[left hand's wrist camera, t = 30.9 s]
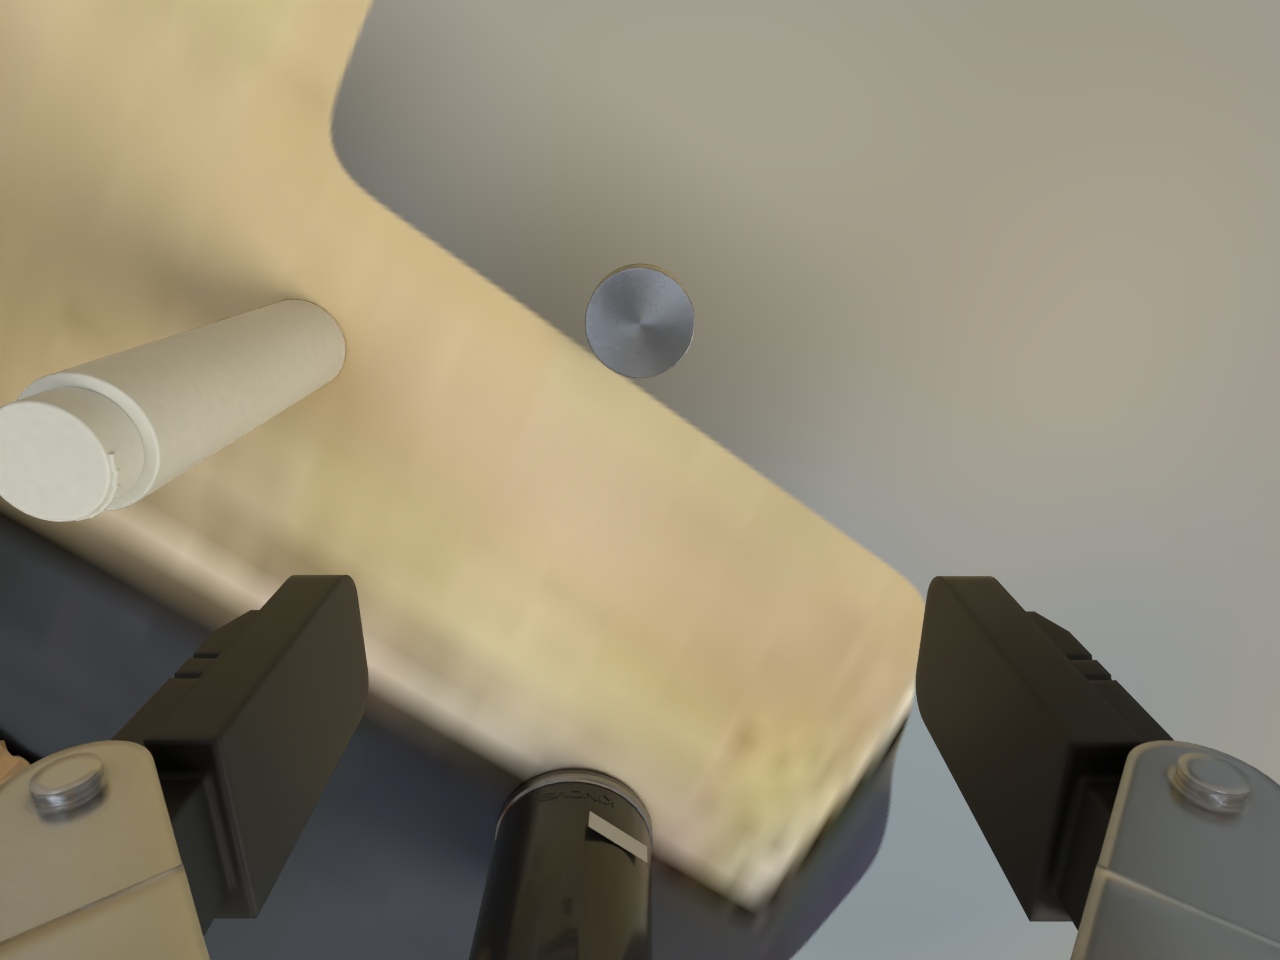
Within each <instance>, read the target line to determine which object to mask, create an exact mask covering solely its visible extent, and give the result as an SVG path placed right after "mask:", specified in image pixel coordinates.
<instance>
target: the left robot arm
mask: <svg viewBox="0 0 1280 960" xmlns="http://www.w3.org/2000/svg"><path fill="white" fill-rule="evenodd" d="M367 695H368V668H367V661H366V653H365V646H364V639H363V632H362V624H361V617H360V610H359V603H358V595H357V590H356V586H355V583H354V581H353V579H352V578H351V577H350V576H348V575H293V576H291V577H289V578H288V579H287V580H286V581H285V583H284V584H283V585H282V586H281V587H280V588H279V589H278V590H277V591H276V593H275V594H274V595H273V596H272V597H271V598H270V599H269V600H268V601H267V603H266V604H265V605H264V606H263V607H262V608H261V609H260V610H250V611H248V612H247V613H245V614H243V615H242V616H240V617H238V618H236V619H235V620H233V621H231V622H230V623H228V624H226V625H224V626H223V627H221V628H219V629H217V630H216V631H215V632H214V633H213V634H212V635H211V636H210V637H209V638H208V639H207V640H206V641H205V642H204V643H203V645H202V646H201V647H200V648H199V649H198V650H197V651H196V652H195V653H194V657H193V658H189V659H188V660H187V661H186V662H185V663H184V664H183V665H182V666H181V667H180V668H179V670H178V671H177V672H176V673H175V678H170V679H169V680H168V681H167V682H166V683H165V684H164V685H163V686H162V687H161V688H160V689H159V690H158V691H157V692H156V694H155V695H154V696H153V697H152V698H151V699H150V700H149V701H148V702H147V703H146V704H145V705H144V706H143V707H142V708H141V709H140V710H139V711H138V712H137V713H136V714H135V715H134V716H133V718H132V719H131V720H130V721H129V722H128V723H127V724H126V725H125V726H124V727H123V728H122V729H121V730H120V731H119V732H118V733H117V734H116V735H115V736H114V737H113V738H112V739H111V740H110V741H100V742H93V743H88V744H83V745H79V746H75V747H72V748H69V749H65V750H63V751H60V752H57V753H55V754H52V755H50V756H47V757H45V758H43V759H41V760H39V761H37V762H35V763H33V764H31V765H29V766H27V767H26V768H24V769H22V770H21V771H19V772H18V773H16V774H15V775H13V776H12V777H10V778H9V779H8V780H7V781H5V782H4V783H3V784H1V785H0V960H210V959H209V956H208V952H207V948H206V945H205V941H204V938H203V937H204V935H205V933H206V932H207V930H208V928H209V927H210V925H211V923H212V921H213V920H214V918H257V916H258V914H259V913H260V911H261V909H262V907H263V905H264V903H265V901H266V899H267V897H268V895H269V893H270V892H271V890H272V888H273V886H274V884H275V882H276V880H277V878H278V876H279V874H280V873H281V871H282V869H283V867H284V865H285V863H286V861H287V859H288V857H289V855H290V854H291V852H292V850H293V848H294V846H295V844H296V842H297V840H298V838H299V836H300V834H301V833H302V831H303V829H304V827H305V825H306V823H307V821H308V819H309V817H310V815H311V814H312V812H313V810H314V808H315V806H316V804H317V802H318V800H319V798H320V796H321V795H322V793H323V791H324V789H325V787H326V785H327V783H328V781H329V779H330V777H331V775H332V774H333V772H334V770H335V768H336V766H337V764H338V762H339V760H340V758H341V756H342V755H343V753H344V751H345V749H346V747H347V745H348V743H349V741H350V739H351V737H352V735H353V734H354V732H355V730H356V728H357V726H358V724H359V722H360V720H361V718H362V716H363V713H364V710H365V706H366V701H367ZM916 695H917V702H918V707H919V710H920V714H921V717H922V719H923V721H924V723H925V725H926V727H927V729H928V731H929V733H930V734H931V736H932V738H933V740H934V742H935V744H936V746H937V748H938V749H939V751H940V753H941V755H942V757H943V759H944V761H945V763H946V765H947V766H948V768H949V770H950V772H951V774H952V776H953V778H954V780H955V782H956V783H957V785H958V787H959V789H960V791H961V793H962V795H963V797H964V798H965V800H966V802H967V804H968V806H969V808H970V810H971V812H972V813H973V815H974V817H975V819H976V821H977V823H978V825H979V827H980V828H981V830H982V832H983V834H984V836H985V838H986V840H987V842H988V844H989V845H990V847H991V849H992V851H993V853H994V855H995V857H996V859H997V860H998V862H999V864H1000V866H1001V868H1002V870H1003V872H1004V874H1005V876H1006V877H1007V879H1008V881H1009V883H1010V885H1011V887H1012V889H1013V890H1014V892H1015V894H1016V896H1017V898H1018V900H1019V902H1020V904H1021V906H1022V907H1023V909H1024V911H1025V913H1026V915H1027V917H1028V919H1029V921H1073V923H1074V925H1075V926H1076V928H1077V930H1078V934H1077V938H1076V941H1075V945H1074V948H1073V952H1072V956H1071V959H1070V960H1280V785H1279V784H1277V783H1276V782H1275V781H1273V780H1272V779H1271V778H1270V777H1268V776H1267V775H1265V774H1264V773H1262V772H1261V771H1259V770H1258V769H1256V768H1254V767H1253V766H1251V765H1249V764H1247V763H1245V762H1243V761H1241V760H1239V759H1237V758H1235V757H1233V756H1230V755H1228V754H1225V753H1223V752H1220V751H1217V750H1215V749H1211V748H1208V747H1205V746H1201V745H1197V744H1192V743H1187V742H1180V741H1174V740H1173V739H1172V738H1171V737H1170V735H1169V734H1168V733H1167V732H1166V731H1165V730H1164V729H1163V728H1162V727H1161V726H1160V725H1159V724H1158V723H1157V722H1156V721H1155V720H1154V719H1153V718H1152V717H1151V716H1150V715H1149V714H1148V713H1147V712H1146V711H1145V710H1144V709H1143V708H1142V707H1141V706H1140V704H1139V703H1138V702H1137V701H1136V700H1135V699H1134V698H1133V697H1132V696H1131V695H1130V694H1129V693H1128V692H1127V691H1126V690H1125V689H1124V688H1123V687H1122V686H1121V685H1120V684H1119V683H1118V682H1117V681H1116V680H1112V679H1111V675H1110V673H1108V671H1107V670H1106V669H1105V668H1104V667H1103V666H1102V665H1101V664H1100V663H1099V662H1098V661H1097V660H1092V655H1091V654H1090V653H1089V652H1088V651H1087V650H1086V649H1085V648H1084V647H1083V646H1082V645H1081V644H1080V642H1079V641H1078V640H1077V639H1076V638H1075V637H1074V636H1073V635H1072V634H1071V633H1070V632H1069V631H1067V630H1065V629H1063V628H1062V627H1060V626H1058V625H1057V624H1055V623H1053V622H1051V621H1050V620H1048V619H1046V618H1044V617H1043V616H1041V615H1039V614H1038V613H1036V612H1026V611H1025V610H1024V609H1023V608H1022V607H1021V606H1020V605H1019V604H1018V603H1017V602H1016V600H1015V599H1014V598H1013V597H1012V596H1011V595H1010V594H1009V593H1008V592H1007V591H1006V589H1005V588H1004V587H1003V586H1002V585H1001V584H1000V583H999V582H998V581H997V580H996V579H995V578H994V577H991V576H937V577H935V578H934V579H933V580H932V581H931V583H930V585H929V589H928V593H927V599H926V606H925V613H924V621H923V628H922V635H921V642H920V649H919V656H918V663H917V671H916ZM652 845H653V837H652V824H651V819H650V816H649V814H648V811H647V809H646V807H645V806H644V804H643V803H642V801H641V800H640V799H639V798H638V796H637V795H636V794H635V793H634V792H633V791H631V790H630V789H629V788H628V787H626V786H625V785H624V784H622V783H620V782H618V781H617V780H615V779H613V778H610V777H608V776H605V775H602V774H599V773H595V772H590V771H583V770H563V771H556V772H551V773H547V774H544V775H541V776H538V777H536V778H534V779H532V780H530V781H528V782H526V783H525V784H523V785H522V786H520V787H519V788H518V789H517V790H516V791H514V792H513V793H512V795H511V796H510V797H509V798H508V799H507V801H506V802H505V804H504V806H503V808H502V810H501V812H500V815H499V819H498V824H497V828H496V834H495V845H494V849H493V854H492V858H491V863H490V867H489V871H488V875H487V880H486V884H485V889H484V893H483V898H482V902H481V907H480V911H479V916H478V920H477V925H476V929H475V934H474V939H473V943H472V948H471V952H470V957H469V960H652V894H651V887H652V877H651V853H652Z"/></svg>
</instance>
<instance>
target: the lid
mask: <svg viewBox="0 0 1280 960" xmlns="http://www.w3.org/2000/svg"><path fill="white" fill-rule="evenodd" d="M585 330H586V335H587V339H588V342H589V345H590V347H591V349H592V351H593V352H594V354H595V355H596V357H597V358H598V359H599V360H600V361H601V362H602V363H603V364H604V365H605V366H606V367H607V368H609V369H611V370H612V371H614V372H616V373H618V374H620V375H623V376H626V377H632V378H649V377H653V376H657V375H659V374H662V373H664V372H666V371H668V370H669V369H671V368H672V367H674V366H675V365H676V364H677V363H678V362H679V361H680V360H681V359H682V358H683V357H684V355H685V354H686V352H687V351H688V349H689V347H690V345H691V342H692V339H693V335H694V330H695V315H694V310H693V307H692V304H691V301H690V299H689V297H688V295H687V292H686V290H685V289H684V287H683V286H682V284H681V283H680V282H679V281H678V280H677V279H676V278H675V277H674V276H673V275H672V274H670V273H669V272H667V271H666V270H664V269H662V268H659V267H656V266H653V265H648V264H631V265H627V266H623V267H621V268H618V269H616V270H615V271H613V272H611V273H610V274H608V275H607V276H606V277H605V278H604V279H603V280H602V281H601V282H600V283H599V284H598V286H597V287H596V289H595V290H594V292H593V294H592V297H591V299H590V301H589V303H588V307H587V310H586V316H585Z"/></svg>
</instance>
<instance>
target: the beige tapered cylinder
mask: <svg viewBox="0 0 1280 960" xmlns="http://www.w3.org/2000/svg"><path fill="white" fill-rule="evenodd" d="M345 352H346V350H345V341H344V337H343V334H342V332H341V330H340V328H339V326H338V324H337V323H336V321H335V320H334V319H333V318H332V317H331V316H330V315H329V314H328V313H327V312H326V311H325V310H324V309H322V308H320V307H319V306H317V305H315V304H313V303H310V302H307V301H303V300H285V301H281V302H278V303H275V304H272V305H268V306H265V307H262V308H259V309H256V310H253V311H249V312H246V313H243V314H240V315H237V316H234V317H230V318H227V319H224V320H221V321H218V322H215V323H211V324H208V325H205V326H202V327H199V328H196V329H192V330H189V331H186V332H183V333H180V334H177V335H173V336H170V337H167V338H164V339H161V340H158V341H154V342H151V343H148V344H145V345H142V346H139V347H135V348H132V349H129V350H126V351H123V352H120V353H116V354H113V355H110V356H107V357H104V358H101V359H97V360H94V361H91V362H88V363H85V364H82V365H78V366H75V367H72V368H69V369H66V370H63V371H59V372H56V373H53V374H50V375H47V376H44V377H42V378H40V379H38V380H36V381H34V382H33V383H32V384H30V385H29V386H28V387H27V388H26V389H25V390H24V391H23V392H22V393H21V395H20V396H19V398H18V399H17V401H14V402H11V403H9V404H6V405H4V406H2V407H0V495H1V496H2V497H3V498H4V499H5V500H6V501H7V502H8V503H10V504H11V505H12V506H14V507H15V508H17V509H18V510H20V511H22V512H24V513H26V514H28V515H31V516H33V517H36V518H39V519H43V520H48V521H57V522H63V521H73V520H76V521H79V520H83V519H87V518H92V517H94V516H95V515H97V514H99V513H101V512H102V511H111V510H117V509H121V508H125V507H128V506H130V505H132V504H134V503H136V502H138V501H139V500H141V499H142V498H144V497H146V496H147V495H149V494H150V493H152V492H154V491H155V490H157V489H158V488H160V487H162V486H163V485H165V484H166V483H168V482H170V481H171V480H173V479H174V478H176V477H178V476H179V475H181V474H182V473H184V472H186V471H187V470H189V469H191V468H192V467H194V466H195V465H197V464H199V463H200V462H202V461H203V460H205V459H207V458H208V457H210V456H211V455H213V454H215V453H216V452H218V451H219V450H221V449H223V448H224V447H226V446H227V445H229V444H231V443H232V442H234V441H235V440H237V439H239V438H240V437H242V436H243V435H245V434H247V433H248V432H250V431H251V430H253V429H255V428H256V427H258V426H259V425H261V424H263V423H264V422H266V421H267V420H269V419H271V418H272V417H274V416H275V415H277V414H279V413H280V412H282V411H284V410H285V409H287V408H288V407H290V406H292V405H293V404H295V403H296V402H298V401H300V400H301V399H303V398H304V397H306V396H308V395H309V394H311V393H312V392H314V391H316V390H317V389H319V388H320V387H322V386H324V385H325V384H327V383H328V382H330V381H331V380H332V379H334V378H335V377H336V375H337V374H338V373H339V372H340V370H341V368H342V366H343V363H344V359H345Z"/></svg>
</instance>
